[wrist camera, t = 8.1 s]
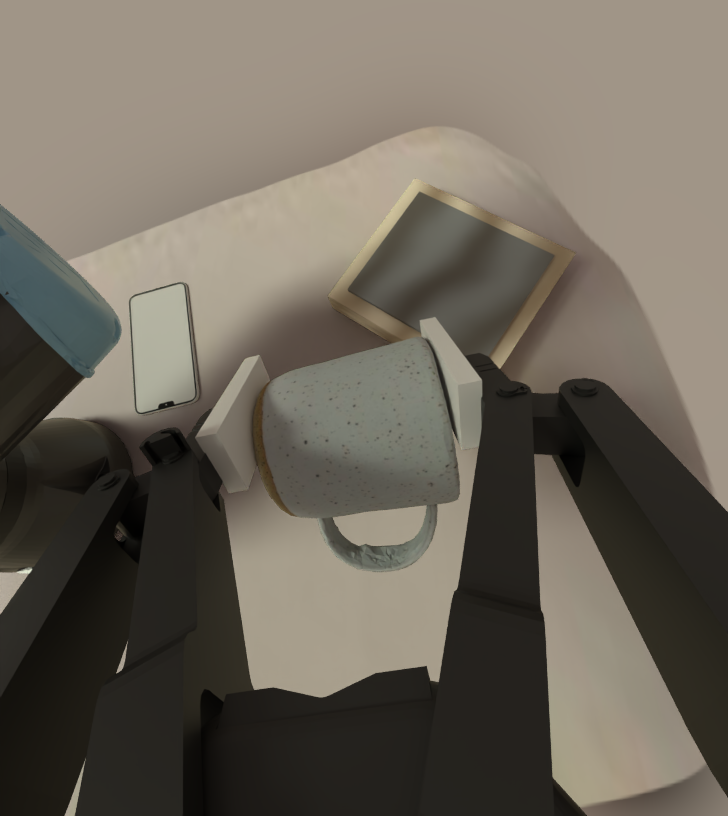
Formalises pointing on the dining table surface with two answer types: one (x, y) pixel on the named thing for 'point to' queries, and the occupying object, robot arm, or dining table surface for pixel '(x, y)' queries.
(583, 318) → the dining table surface
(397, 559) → the ceramic mug
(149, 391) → the smartphone
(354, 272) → the wooden picture frame
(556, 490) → the dining table surface
